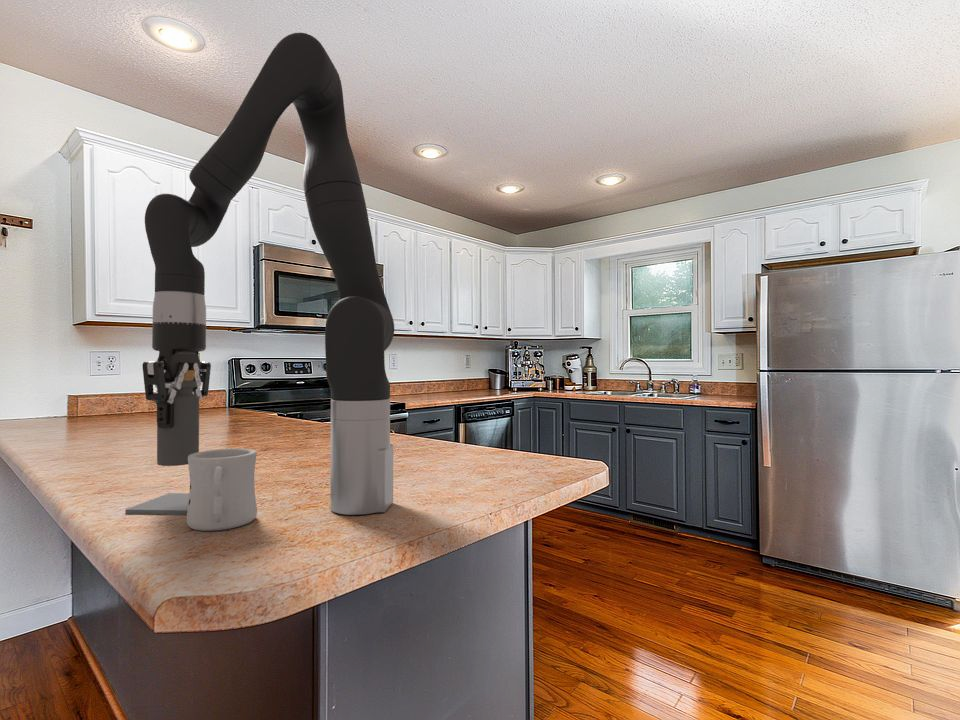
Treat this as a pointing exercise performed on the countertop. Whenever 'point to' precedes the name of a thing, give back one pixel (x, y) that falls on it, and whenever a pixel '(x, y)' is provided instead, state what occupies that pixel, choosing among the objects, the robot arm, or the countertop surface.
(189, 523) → the mug
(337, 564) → the countertop surface
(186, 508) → the coaster
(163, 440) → the bottle
